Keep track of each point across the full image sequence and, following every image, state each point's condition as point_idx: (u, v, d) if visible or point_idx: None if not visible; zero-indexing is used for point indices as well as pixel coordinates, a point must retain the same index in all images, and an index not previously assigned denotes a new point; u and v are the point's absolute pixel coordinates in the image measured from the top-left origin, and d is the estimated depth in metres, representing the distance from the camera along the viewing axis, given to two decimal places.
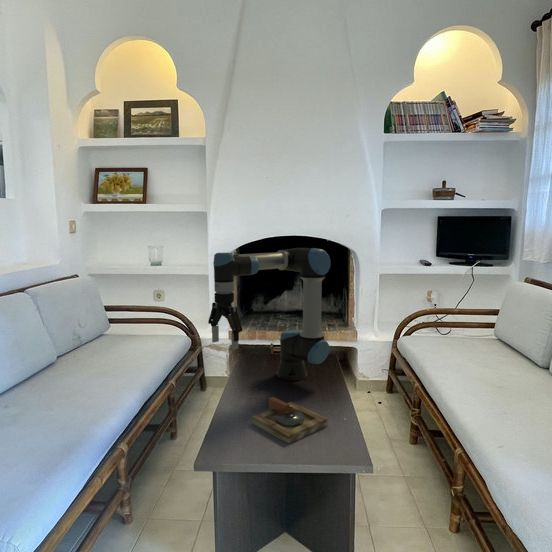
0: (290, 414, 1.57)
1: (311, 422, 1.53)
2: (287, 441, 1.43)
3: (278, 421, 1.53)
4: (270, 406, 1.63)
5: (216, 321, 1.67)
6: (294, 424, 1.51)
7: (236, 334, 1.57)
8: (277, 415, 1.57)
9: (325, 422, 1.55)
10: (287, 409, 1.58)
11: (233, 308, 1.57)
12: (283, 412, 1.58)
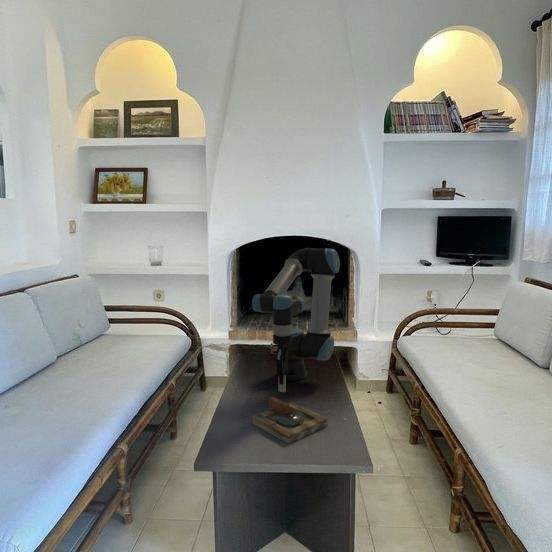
0: (290, 414, 1.57)
1: (311, 422, 1.53)
2: (287, 441, 1.43)
3: (278, 421, 1.53)
4: (270, 406, 1.63)
5: None
6: (294, 424, 1.51)
7: (280, 378, 1.66)
8: (277, 415, 1.57)
9: (325, 422, 1.55)
10: (287, 409, 1.58)
11: (277, 357, 1.61)
12: (283, 412, 1.58)
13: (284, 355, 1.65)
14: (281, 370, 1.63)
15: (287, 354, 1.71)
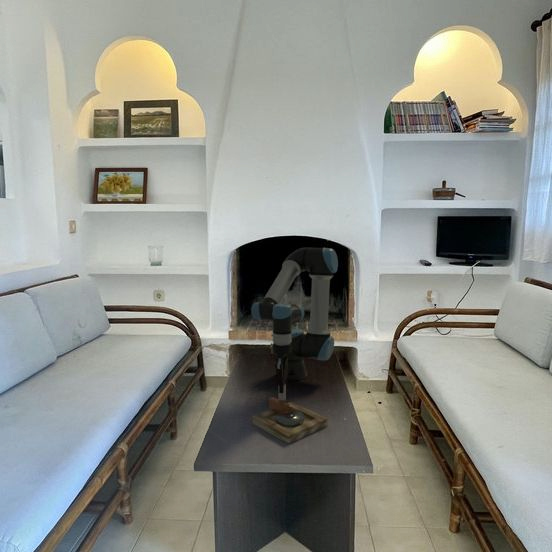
0: (290, 414, 1.57)
1: (311, 422, 1.53)
2: (287, 441, 1.43)
3: (278, 421, 1.53)
4: (270, 406, 1.63)
5: None
6: (294, 424, 1.51)
7: (280, 386, 1.66)
8: (277, 415, 1.57)
9: (325, 422, 1.55)
10: (287, 409, 1.58)
11: (277, 366, 1.61)
12: (283, 412, 1.58)
13: (284, 364, 1.64)
14: (281, 379, 1.63)
15: (287, 362, 1.71)
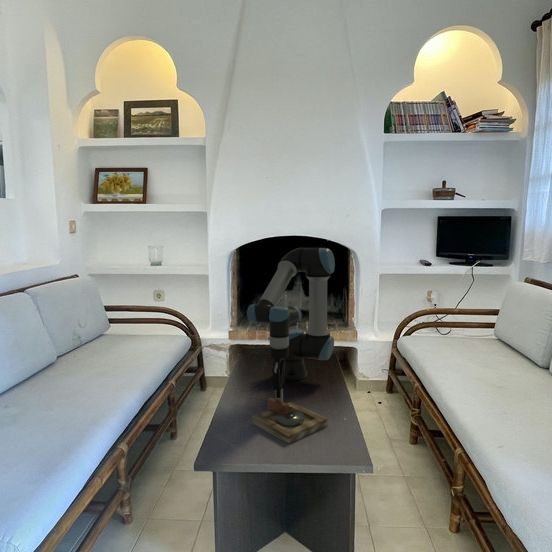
0: (290, 414, 1.57)
1: (311, 422, 1.53)
2: (287, 441, 1.43)
3: (279, 421, 1.53)
4: (269, 407, 1.63)
5: None
6: (295, 424, 1.52)
7: (277, 391, 1.61)
8: (277, 415, 1.56)
9: (325, 422, 1.55)
10: (287, 409, 1.58)
11: (274, 371, 1.56)
12: (283, 412, 1.57)
13: (281, 368, 1.60)
14: (278, 384, 1.58)
15: (284, 366, 1.66)
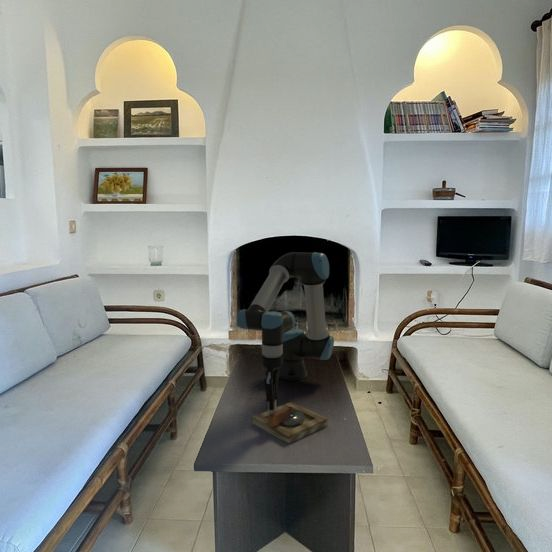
0: None
1: (311, 422, 1.53)
2: (287, 441, 1.43)
3: (300, 422, 1.53)
4: (274, 424, 1.48)
5: None
6: None
7: (270, 403, 1.51)
8: (291, 421, 1.52)
9: (325, 422, 1.55)
10: None
11: (266, 381, 1.45)
12: (288, 416, 1.54)
13: (274, 378, 1.49)
14: (271, 395, 1.48)
15: (278, 376, 1.56)
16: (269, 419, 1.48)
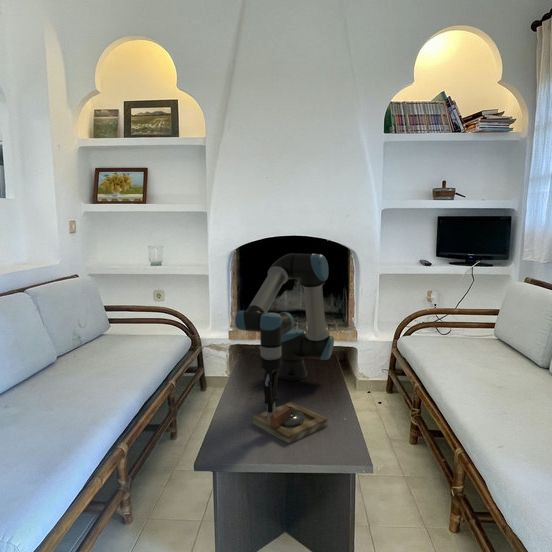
0: None
1: (311, 422, 1.53)
2: (287, 441, 1.43)
3: (301, 421, 1.53)
4: (277, 425, 1.48)
5: None
6: None
7: (268, 405, 1.49)
8: (292, 421, 1.52)
9: (325, 422, 1.55)
10: None
11: (265, 384, 1.43)
12: (288, 416, 1.54)
13: (273, 380, 1.47)
14: (269, 397, 1.46)
15: None
16: (271, 420, 1.48)
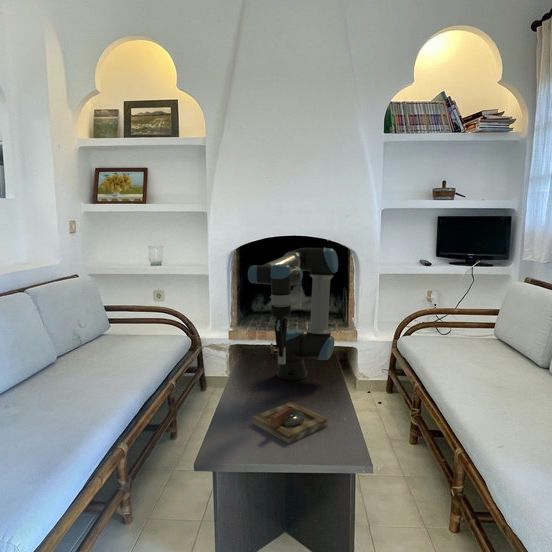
0: None
1: (311, 422, 1.53)
2: (287, 441, 1.43)
3: (301, 421, 1.53)
4: (277, 425, 1.48)
5: None
6: None
7: (279, 350, 1.60)
8: (292, 421, 1.52)
9: (325, 422, 1.55)
10: None
11: (276, 328, 1.55)
12: (288, 416, 1.54)
13: (283, 326, 1.59)
14: (280, 342, 1.57)
15: None
16: (271, 420, 1.48)
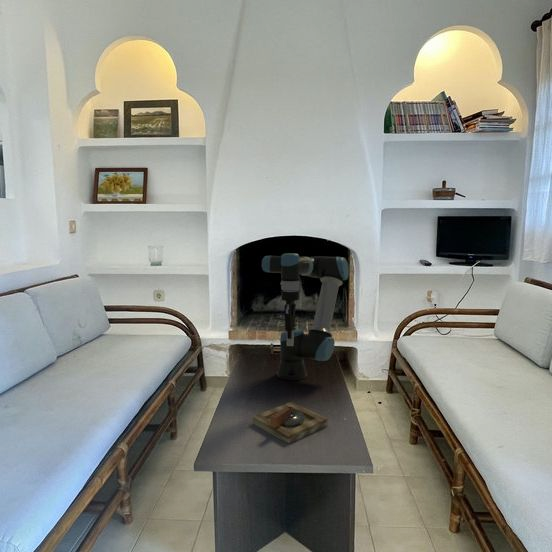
0: None
1: (311, 422, 1.53)
2: (287, 441, 1.43)
3: (301, 421, 1.53)
4: (277, 425, 1.48)
5: None
6: None
7: (288, 332, 1.74)
8: (292, 421, 1.52)
9: (325, 422, 1.55)
10: None
11: (285, 311, 1.68)
12: (288, 416, 1.54)
13: (292, 310, 1.72)
14: (289, 324, 1.71)
15: None
16: (271, 420, 1.48)
